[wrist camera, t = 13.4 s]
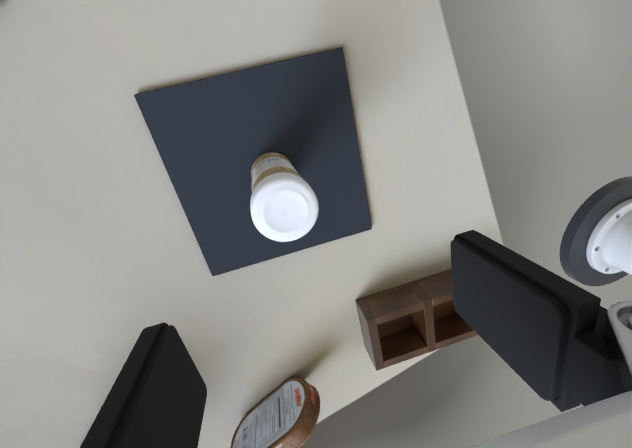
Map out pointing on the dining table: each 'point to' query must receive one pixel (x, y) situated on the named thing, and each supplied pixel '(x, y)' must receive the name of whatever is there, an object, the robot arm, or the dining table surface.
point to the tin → (280, 418)
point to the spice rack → (411, 320)
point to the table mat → (260, 152)
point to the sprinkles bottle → (281, 199)
